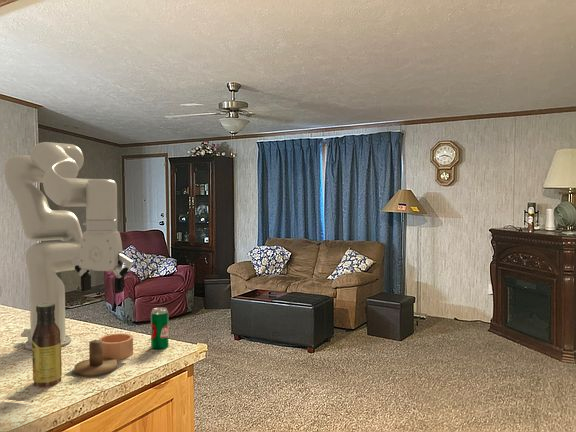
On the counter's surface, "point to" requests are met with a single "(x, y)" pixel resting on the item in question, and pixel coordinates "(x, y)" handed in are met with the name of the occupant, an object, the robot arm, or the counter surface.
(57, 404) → the counter surface
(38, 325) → the sauce bottle
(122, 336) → the bowl
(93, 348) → the lid
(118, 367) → the mat
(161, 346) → the soda can
